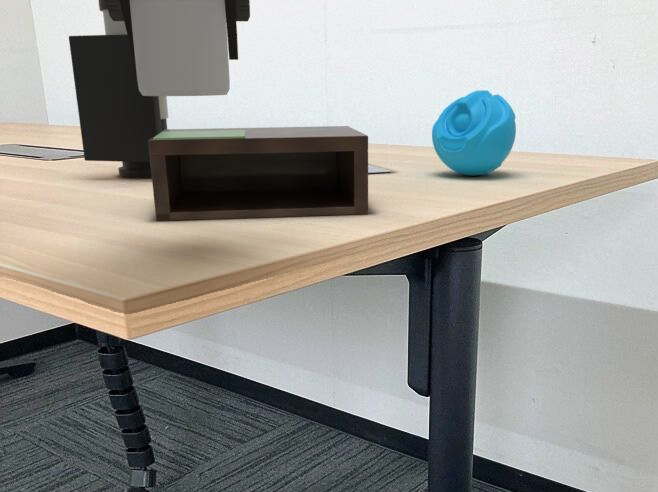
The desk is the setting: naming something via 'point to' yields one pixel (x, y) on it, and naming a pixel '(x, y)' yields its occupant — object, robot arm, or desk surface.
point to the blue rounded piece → (475, 133)
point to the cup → (180, 47)
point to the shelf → (259, 172)
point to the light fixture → (114, 100)
